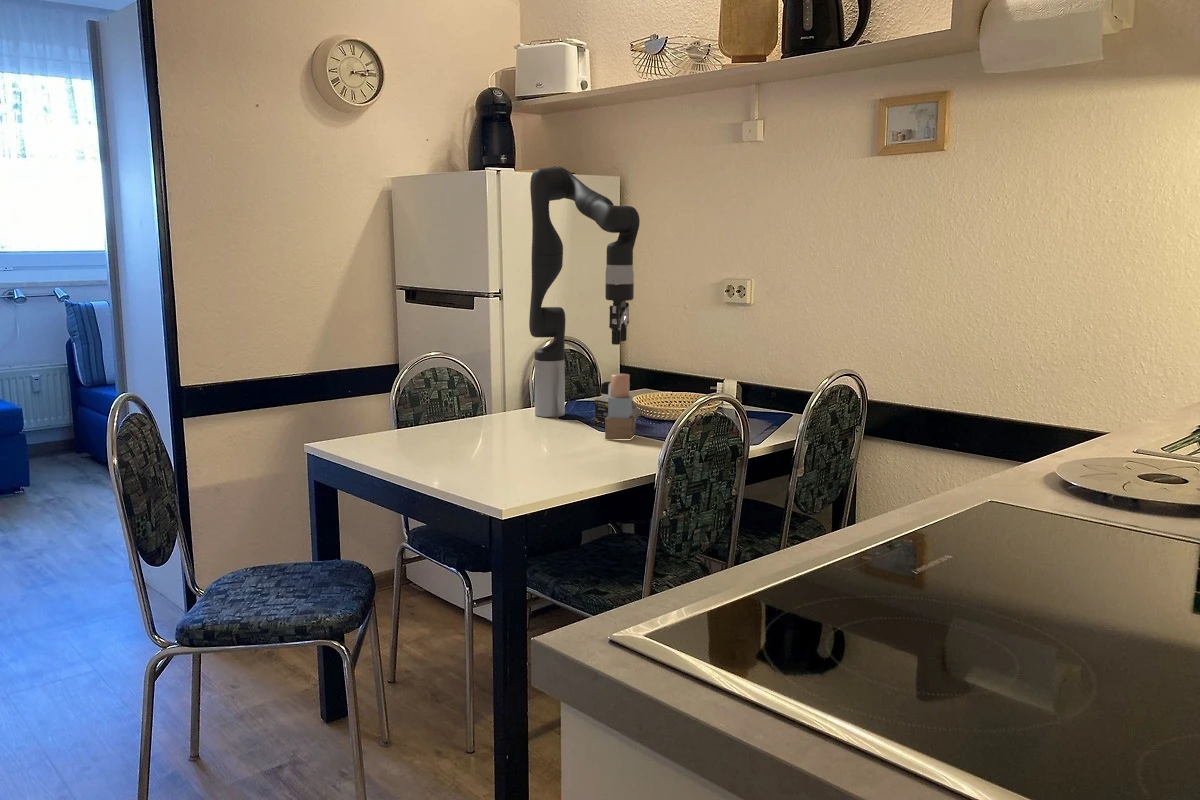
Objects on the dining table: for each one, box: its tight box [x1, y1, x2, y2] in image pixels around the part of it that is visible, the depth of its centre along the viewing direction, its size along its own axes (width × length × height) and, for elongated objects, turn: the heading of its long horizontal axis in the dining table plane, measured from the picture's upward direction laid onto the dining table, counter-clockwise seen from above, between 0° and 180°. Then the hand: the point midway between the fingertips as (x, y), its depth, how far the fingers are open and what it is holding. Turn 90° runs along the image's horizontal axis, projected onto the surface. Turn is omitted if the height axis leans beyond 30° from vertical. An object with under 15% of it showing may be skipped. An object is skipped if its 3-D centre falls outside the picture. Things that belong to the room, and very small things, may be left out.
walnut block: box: [604, 414, 636, 440], centre depth 258 cm, size 7×7×6 cm
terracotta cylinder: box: [610, 373, 631, 398], centre depth 256 cm, size 5×5×6 cm
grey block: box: [608, 394, 633, 419], centre depth 257 cm, size 6×6×6 cm
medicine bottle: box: [594, 381, 611, 422], centre depth 280 cm, size 7×7×12 cm
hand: (619, 342), depth 255 cm, fingers open, 8 cm apart
